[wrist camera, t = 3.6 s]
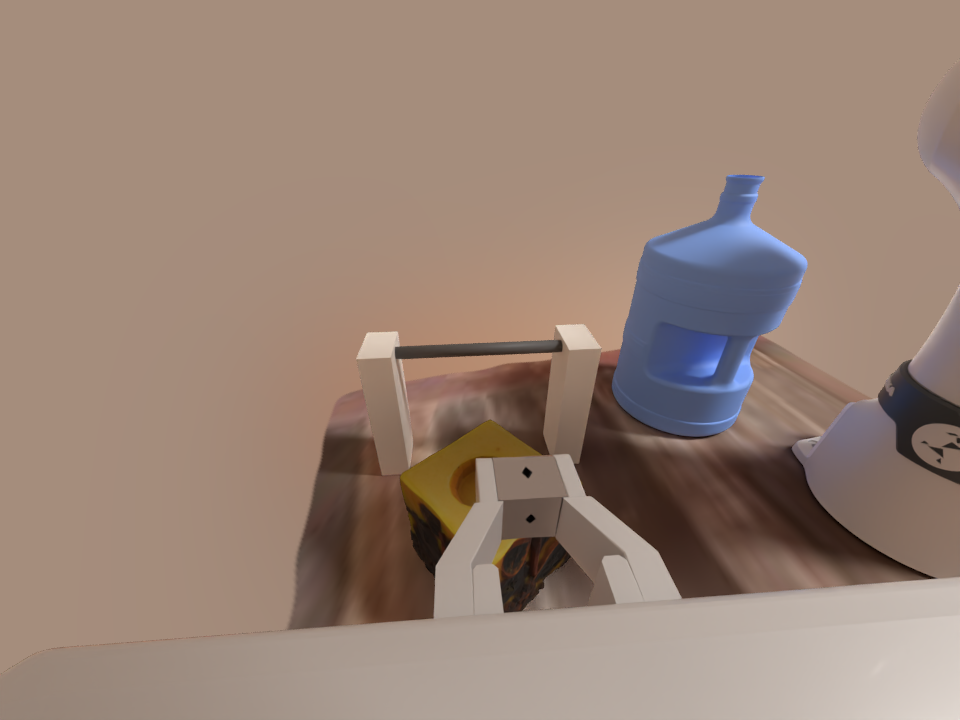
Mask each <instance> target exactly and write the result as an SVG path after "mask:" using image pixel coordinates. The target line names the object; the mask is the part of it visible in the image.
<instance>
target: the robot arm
mask: <svg viewBox="0 0 960 720" xmlns="http://www.w3.org/2000/svg"><path fill="white" fill-rule="evenodd" d="M917 140H918V149H919V153H920V157H921V159H922V161H923V163H924V165H925V166H926V167H927V169H928V171H929V172H930V173H931V174H933V175H934V176H935V177H936V178H937V179H938V180H939V181H940V182H941V183H942V184H943V185H944V186H945V187H946V188H947V190H948V191H949V192H950V193H951V195H952V197H953V198H954V200H955V201H956V203H957V205H958V207H959V209H960V59H959V60H958V61H957V62H956V63H955V64H954V65H953V66H952V67H951V68H950V69H949V71H948V72H947V73H946V74H945V76H944V77H943V78H942V80H941V81H940V82H939V84H938V85H937V86H936V88H935V89H934V91H933V93H932V94H931V96H930V98H929V100H928V102H927V104H926V106H925V108H924V110H923V113H922V116H921V119H920V123H919V128H918V136H917ZM792 451H793V453H794V454H795V456H796V457H797V458H798V460H799V461H800V462H801V463H802V465H803V466H804V468H805V472H806V478H807V482H808V485H809V487H810V489H811V491H812V493H813V494H814V496H815V497H816V499H817V500H818V501H819V502H820V504H821V505H822V506H823V507H824V508H825V509H826V510H827V511H828V512H829V514H831V515H832V516H833V517H834V518H835V519H836V520H837V521H838V522H839V523H840V524H842V525H843V526H844V527H845V528H846V529H848V530H849V531H850V532H852V533H853V534H854V535H856V536H857V537H858V538H860V539H861V540H863V541H864V542H866V543H867V544H869V545H870V546H872V547H873V548H875V549H877V550H878V551H880V552H882V553H884V554H885V555H887V556H889V557H891V558H893V559H894V560H896V561H898V562H900V563H902V564H904V565H906V566H909V567H911V568H913V569H915V570H917V571H920V572H922V573H925V574H927V575H930V576H933V577H935V578H938V579H925V580H913V581H900V582H887V583H875V584H862V585H850V586H837V587H824V588H812V589H799V590H787V591H774V592H761V593H749V594H736V595H724V596H711V597H698V598H686V599H682V598H681V596H680V594H679V592H678V590H677V588H676V586H675V584H674V582H673V580H672V578H671V576H670V574H669V572H668V570H667V568H666V566H665V564H664V562H663V560H662V558H661V556H660V554H659V552H658V551H657V550H656V549H655V548H653V547H652V546H651V545H650V544H648V543H647V542H646V541H645V540H644V539H642V538H641V537H640V536H639V535H638V534H636V533H635V532H634V531H633V530H632V529H630V528H629V527H628V526H627V525H625V524H624V523H623V522H622V521H621V520H619V519H618V518H617V517H616V516H615V515H613V514H612V513H611V512H610V511H608V510H607V509H606V508H605V507H604V506H602V505H601V504H600V503H599V502H598V501H596V500H595V499H594V498H593V497H591V496H586V494H585V492H584V489H583V487H582V484H581V482H580V479H579V476H578V474H577V471H576V469H575V466H574V464H573V461H572V459H571V456H570V455H569V454H558V455H540V456H524V457H501V458H476V472H475V484H476V503H474V505H473V506H472V508H471V510H470V511H469V513H468V514H467V516H466V518H465V519H464V521H463V523H462V524H461V526H460V527H459V529H458V531H457V532H456V534H455V536H454V537H453V539H452V540H451V542H450V544H449V545H448V547H447V549H446V550H445V552H444V553H443V555H442V557H441V558H440V560H439V562H438V563H437V565H436V571H435V597H434V618H432V619H420V620H407V621H394V622H382V623H369V624H357V625H344V626H331V627H319V628H306V629H293V630H280V631H268V632H255V633H242V634H229V635H217V636H204V637H191V638H179V639H165V640H152V641H141V642H127V643H114V644H101V645H87V646H74V647H61V648H53V649H48V650H44V651H41V652H38V653H35V654H33V655H31V656H29V657H27V658H26V659H24V660H22V661H21V662H19V663H17V664H16V665H14V666H12V667H11V668H9V669H8V670H6V671H4V672H3V673H1V674H0V720H960V284H959V286H958V288H957V290H956V293H955V294H954V296H953V298H952V300H951V301H950V303H949V305H948V307H947V308H946V310H945V312H944V314H943V315H942V317H941V318H940V320H939V322H938V323H937V325H936V327H935V328H934V330H933V331H932V333H931V334H930V336H929V337H928V339H927V340H926V342H925V343H924V344H923V346H922V347H921V349H920V350H919V351H918V353H917V354H916V356H915V357H914V358H913V359H912V360H908V361H906V362H903V363H902V364H901V365H900V366H899V368H898V369H897V370H896V371H895V372H894V373H892V374H891V375H890V377H889V378H888V379H887V380H886V383H885V386H884V387H883V389H882V390H881V391H880V393H879V394H878V398H875V399H871V400H861V401H858V402H856V403H854V402H851V403H849V404H847V405H846V406H845V407H844V409H843V410H842V411H841V412H840V414H839V415H838V416H837V418H836V419H835V420H834V421H833V423H832V424H831V425H830V426H829V428H828V429H827V430H826V432H825V433H824V434H823V436H819V437H814V438H809V439H804V440H799V441H797V442H796V443H795V444H794V446H793V447H792ZM529 537H556V539H557V540H558V541H559V543H560V544H561V545H562V546H563V547H564V549H565V550H566V551H567V552H568V553H569V554H570V556H571V557H572V558H573V559H574V560H575V562H576V563H577V564H578V565H579V566H580V567H581V569H582V570H583V571H584V572H585V573H586V575H587V576H588V577H589V578H590V579H591V580H592V582H593V583H594V586H593V589H592V592H591V595H590V598H589V601H588V604H587V606H583V607H571V608H558V609H546V610H533V611H521V612H508V613H504V611H503V603H502V595H501V587H500V579H499V571H498V568H497V567H496V566H495V565H493V564H492V562H493V559H494V557H495V555H496V553H497V550H498V548H499V546H500V543H501V540H507V539H518V538H529Z"/></svg>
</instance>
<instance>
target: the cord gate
mask: <svg viewBox="0 0 960 720" xmlns="http://www.w3.org/2000/svg"><path fill="white" fill-rule="evenodd" d="M601 349H602V348H601V347H600V346H599V344H598V343H597V341H596V340H595V339H594V337H593V336H592V334H591V333H590V332H589V331H588V329H587V327H586V326H585V325H584V324H580V325H557V326H555V335H554V340H547V341H546V340H545V341H523V342H497V343H473V344H451V345H450V344H449V345H426V346H403V347H402V346H401V347H400V344H399V337H398V332H376V333H367V335H366V337H365V339H364V342H363V344H362V346H361V349H360V351H359V354H358V356H357V358H356V361H357V365H358V369H359V374H360V379H361V383H362V388H363V392H364V397H365V401H366V406H367V410H368V415H369V419H370V424H371V428H372V433H373V437H374V442H375V446H376V451H377V455H378V460H379V464H380V469H381V473H382V476H384V475H400V474H402V473H403V472H405V471H406V470H408V469H410V466H411V458H412V449H413V435H412V428H411V421H410V414H409V407H408V400H407V393H406V386H405V379H404V372H403V365H402V359H413V358H436V357H460V356H481V355H482V356H483V355H505V354H529V353H552V360H551V369H550V378H549V387H548V395H547V404H546V413H545V421H544V430H543V435H544V439H545V442H546V445H547V448H548V451H549V454H550V455H558V454H569V455H570V456H571V459H572V461H573V464H578V463H579V461H580V456H581V451H582V446H583V441H584V436H585V431H586V425H587V420H588V415H589V410H590V405H591V400H592V395H593V390H594V385H595V380H596V375H597V370H598V365H599V360H600V354H601Z"/></svg>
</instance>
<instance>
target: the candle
mask: <svg viewBox="0 0 960 720" xmlns="http://www.w3.org/2000/svg"><path fill="white" fill-rule="evenodd" d="M540 455H541V454H540V453H538V452H537V451H535V450H534V449H532V448H531V447H529V446H528V445H526V444H525V443H524V442H522V441H521V440H519V439H518V438H516V437H515V436H514V435H512V434H511V433H509V432H508V431H507V430H505V429H504V428H503V427H501V426H500V425H498V424H497V423H495V422H493V421H492V420H488V421H486V422H484V423H482V424H481V425H479V426H478V427H476V428H475V429H473V430H472V431H470V432H468V433H467V434H465V435H464V436H462V437H461V438H459V439H458V440H456V441H454V442H453V443H451V444H450V445H448V446H446V447H445V448H443V449H442V450H440V451H438V452H437V453H435V454H433V455H431V456H429V457H428V458H426V459H425V460H423V461H421V462H420V463H418V464H416V465H415V466H413V467H411V468H410V469H408V470H406V471H405V472H403V473H402V475H401V476H400V483H401V488H402V493H403V497H404V501H405V504H406V509H407V511H408V517H409V520H410V524H411V538H412V540H413V547H414V548H415V550H416V552H417V553H418V555H419V557H420V558H421V560H423V561H424V562H425V565H426V568H427V569H428V570H429V571H430V572H431V573H433V574H434V577H435V571H436V565H437V563H438V562H439V560H440V558H441V557H442V555H443V553H444V552H445V550H446V549H447V547H448V545H449V544H450V542H451V540H452V539H453V537H454V536H455V534H456V532H457V531H458V529H459V527H460V526H461V524H462V523H463V521H464V519H465V518H466V516H467V514H468V513H469V511H470V510H471V508H472V506H473V505H474V503H476V484H475V472H476V458H501V457H524V456H540ZM580 482H581V480H580ZM581 484H582V482H581ZM569 557H570V554H569V553H568V552H567V551H566V550H565V549H564V547H563V546H562V545H561V544H560V543H559V541H558V540H557V539H556V537H529V538H518V539H507V540H501V543H500V546H499V548H498V550H497V553H496V555H495V557H494V559H493V562H492V564H493V565H495V566H496V567H497V568H498V571H499V579H500V587H501V595H502V603H503V611H504V613H508V612H521V611H522V610H523V609H524V608H525V607H526V605H527V604H528V603H529V602H530V601H531V600H532V599H533V598H534V597H535V596H536V595H537V594H538V593H539V589H542V588H544V583H543V581H544V579H545V577H547V576H548V575H549V574H551V573H552V572H553V571H554V570H555V569H557V568H559V567H561V566H563V564H564V563H566V562H567V560H568V559H569Z"/></svg>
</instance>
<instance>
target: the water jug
mask: <svg viewBox="0 0 960 720" xmlns="http://www.w3.org/2000/svg"><path fill="white" fill-rule="evenodd" d="M726 181H727V183H726V186H725V190H724V192H722V193H721V196H720V202H719V205H718V208H717V211H716V213H715V215H714V216H713V217H712V218H710V219H709V220H707V221H703V222H700V223H698V224H694V225H691V226H688V227H685V228H682V229H679V230H676V231H673V232H670V233H667V234H664V235H660V236H658V237H655V238H653V239H651V240H649V241H648V242H647V243H646V245H645V247H644V251H643V255H642V257H641V260H640V263H639V267H638V271H637V277H636V278H637V282H636V286H635V290H634V294H633V299H632V303H631V307H630V312H629V316H628V318H627V321H626V324H625V328H624V333H623V342H622V347H621V351H620V355H619V359H618V364H617V368H616V370H615V372H614V376H613V381H612V391H613V394H614V397H615V398H616V400H617V402H618V403H619V404H620V406H621V407H622V408H623V409H624V410H625V411H626V412H628V413H629V414H630V415H631V416H633V417H634V418H636V419H637V420H639V421H641V422H642V423H644V424H646V425H648V426H651V427H653V428H655V429H658V430H661V431H664V432H668V433H672V434H676V435H682V436H693V437H700V436H710V435H715V434H718V433H721V432H723V431H725V430H727V429H728V428H729V427H731V426H732V425H733V423H734V422H735V421H736V419H737V416H738V414H739V412H740V410H741V405H742V403H743V401H744V398H745V396H746V394H747V392H748V390H749V388H750V386H751V384H752V382H753V378H754V375H753V371H752V368H751V366H750V354H751V352H752V350H753V347H754V345H755V343H756V341H757V338H758V336H759V335H762V334H765V333H768V332H770V331H772V330H774V329H776V328H777V327H778V326H779V325H780V323H781V321H782V319H783V317H784V315H785V313H786V311H787V309H788V307H789V306H790V305H791V303H792V301H793V300H794V298H795V296H796V294H797V292H798V290H799V288H800V285H801V283H802V277H803V275H804V273H805V271H806V269H807V261H806V259H805V257H804V256H803V255H801V254H799V253H798V252H797V251H795V250H793V249H792V248H790V247H789V246H787V245H786V244H784V243H782V242H781V241H779V240H778V239H776V238H774V237H773V236H771V235H770V234H768V233H767V232H765V231H763V230H762V229H760V228H758V227H757V226H756V225H754V224H753V223H752V222H751V219H750V214H751V211H752V208H753V205H754V203H755V202H756V200H757V197H758V194H757V192H758V189H759V186H760V184H761V183H762V182H763V181H764V177H763V176H753V175H728V176H727V177H726Z"/></svg>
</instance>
